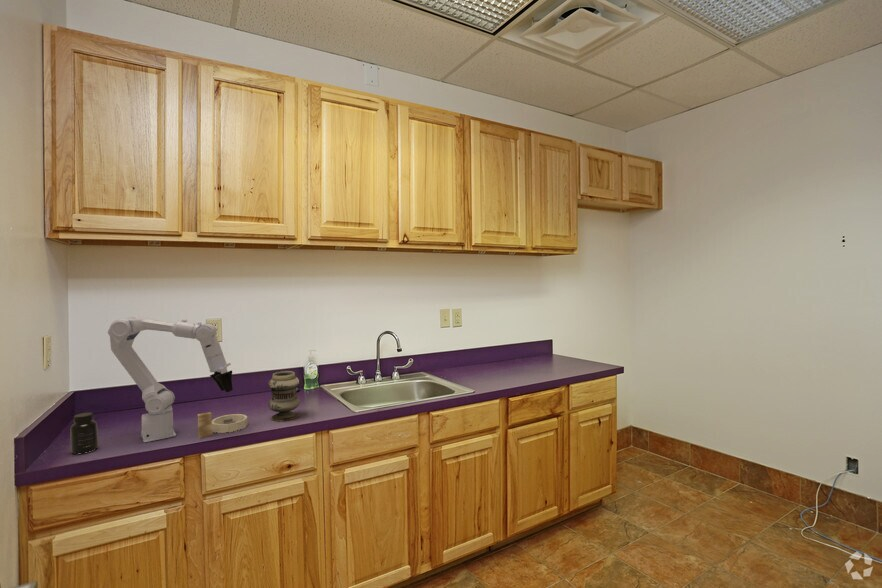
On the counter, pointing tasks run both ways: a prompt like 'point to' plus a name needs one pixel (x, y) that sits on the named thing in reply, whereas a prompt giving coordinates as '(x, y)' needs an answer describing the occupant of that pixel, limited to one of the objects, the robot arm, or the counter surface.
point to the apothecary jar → (284, 395)
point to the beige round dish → (229, 423)
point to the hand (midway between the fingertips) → (227, 390)
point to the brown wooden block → (204, 425)
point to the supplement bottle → (84, 433)
